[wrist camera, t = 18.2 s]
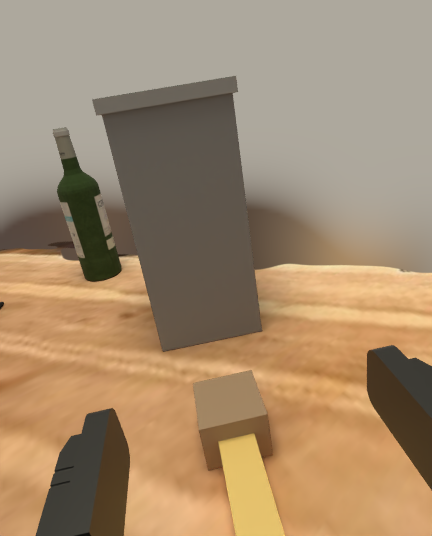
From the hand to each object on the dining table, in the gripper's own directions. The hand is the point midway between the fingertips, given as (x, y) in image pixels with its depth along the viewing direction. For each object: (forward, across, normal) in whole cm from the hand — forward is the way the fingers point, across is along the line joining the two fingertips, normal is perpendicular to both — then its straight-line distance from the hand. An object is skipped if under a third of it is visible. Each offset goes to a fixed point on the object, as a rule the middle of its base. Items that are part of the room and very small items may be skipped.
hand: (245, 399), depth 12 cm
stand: (+42, 0, +22) cm, 47 cm away
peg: (+10, 0, +22) cm, 24 cm away
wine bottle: (+68, +20, +22) cm, 74 cm away
